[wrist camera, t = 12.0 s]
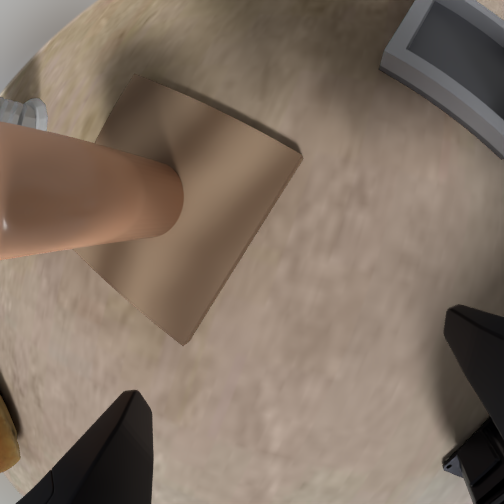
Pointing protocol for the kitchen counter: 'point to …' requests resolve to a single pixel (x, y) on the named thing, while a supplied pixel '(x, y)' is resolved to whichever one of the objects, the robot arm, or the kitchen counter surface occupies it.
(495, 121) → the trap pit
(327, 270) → the kitchen counter surface
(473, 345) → the robot arm
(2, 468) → the ceramic pitcher
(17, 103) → the french press
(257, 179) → the mat
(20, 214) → the terracotta canister
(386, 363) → the kitchen counter surface
